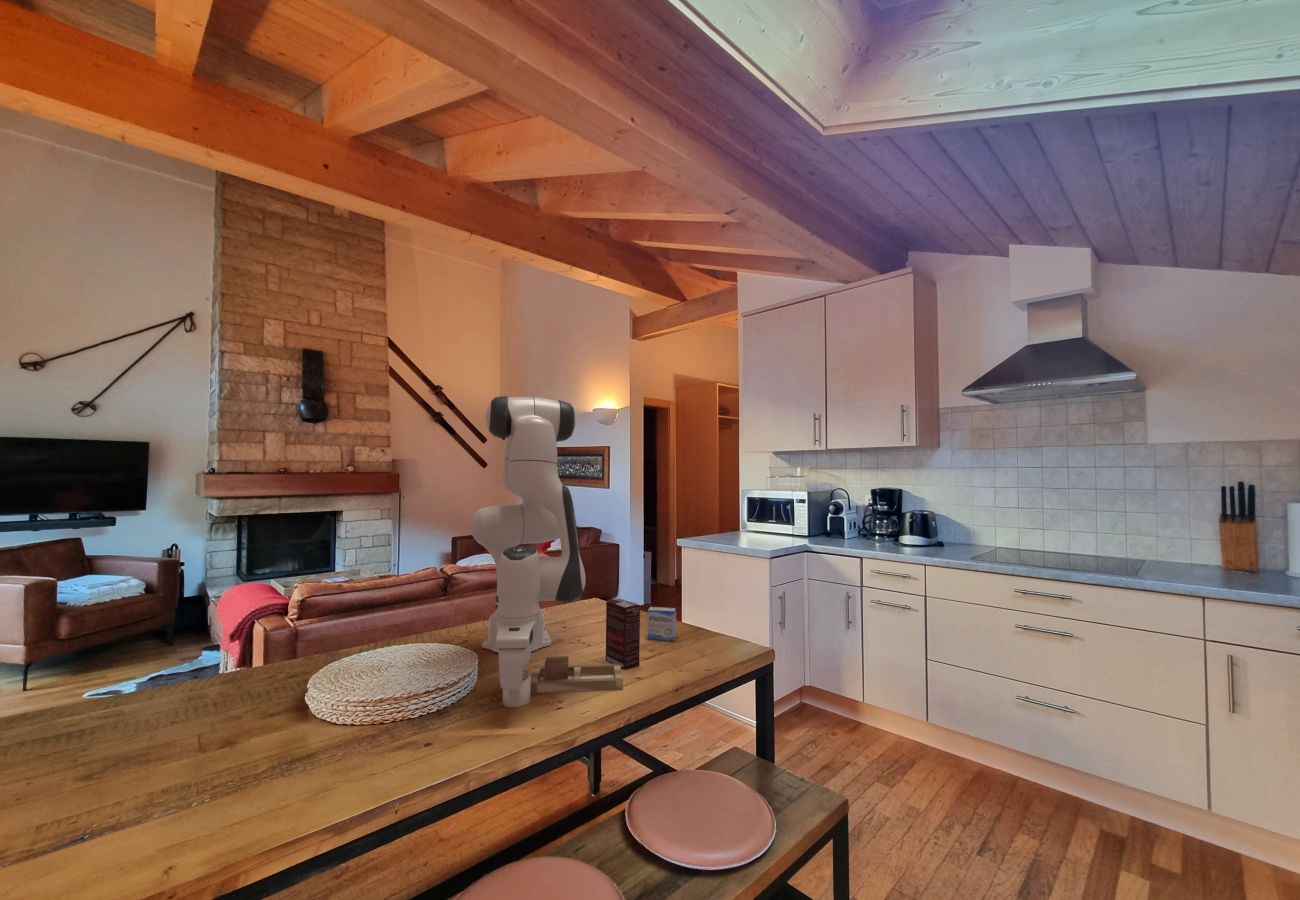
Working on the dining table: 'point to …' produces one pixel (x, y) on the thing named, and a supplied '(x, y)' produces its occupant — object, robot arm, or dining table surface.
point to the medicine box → (661, 624)
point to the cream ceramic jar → (523, 694)
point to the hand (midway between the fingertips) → (516, 693)
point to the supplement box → (622, 633)
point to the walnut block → (556, 668)
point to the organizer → (579, 679)
